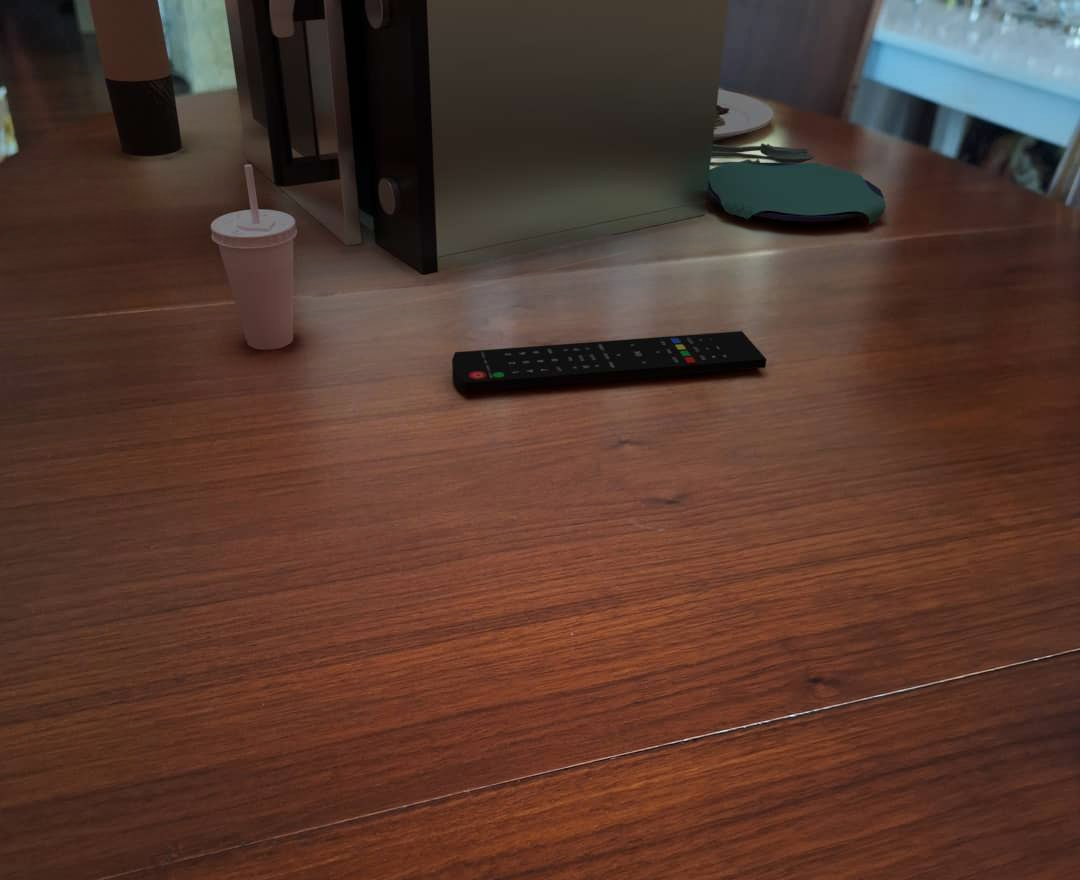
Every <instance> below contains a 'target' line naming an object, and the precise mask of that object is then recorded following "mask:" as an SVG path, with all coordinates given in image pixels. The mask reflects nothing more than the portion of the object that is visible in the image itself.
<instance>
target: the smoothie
mask: <svg viewBox="0 0 1080 880" xmlns="http://www.w3.org/2000/svg"><path fill="white" fill-rule="evenodd" d="M243 167H244V174H245V180H246V187H247V193H248V194H247V195H248V201H249V209H244V210H238V211H233V212H228V213H226V214H223V215H221V216H219V217H216V218H215V219H214V220H213V221H211V223H210V230H211V240H212V241H213V242H214V243H215V244H217V245H218V249H219V253H220V257H221V260H222V264H223V266H224V270H225V273H226V277H227V280H228V283H229V287H230V291H231V294H232V296H233V300H234V303H235V307H236V310H237V314H238V317H239V321H240V324H241V327H242V330H243V333H244V334H243V335H244V338H245V341H246V344H247V346H249V347H250V348H253V349H255V350H260V351H261V350H263V351H269V350H271V351H272V350H278V349H281V348H285V347H287V346H288V345H290V344H291V343H292V342H293V341H294V256H295V255H294V253H295V252H294V239H295V238H296V236H297V235H298V230H297V225H296V218H295V217H293V215H291V214H289V213H286V212H283V211H280V210H276V209H275V210H274V209H259V204H258V198H257V190H256V183H255V177H254V169H253V164H251V163H249V164H244V166H243Z"/></svg>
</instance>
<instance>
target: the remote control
mask: <svg viewBox="0 0 1080 880" xmlns="http://www.w3.org/2000/svg"><path fill="white" fill-rule="evenodd" d="M451 365H452V366H451V367H452V368H451V370H452V385H453V386H454V388H455V390H456V391H457V392H463V393H464V392H477V391H478V392H479V391H489V390H501V389H502V390H503V389H516V388H524V387H525V388H527V387H539V386H540V387H541V386H552V385H564V384H576V383H589V382H602V381H612V380H614V381H616V380H628V379H639V378H640V379H641V378H652V377H653V378H654V377H664V376H676V375H677V376H678V375H687V374H688V375H689V374H702V373H714V372H725V371H726V372H727V371H739V370H741V371H742V370H751V369H753V370H754V369H763V368H764V369H765V368H766V365H767V358H766V356H765V355H763V352H761V351H760V349H758V347H757V346H756V345H755V344H754V343H753V342H752V341H751V340H750V338H749V337H748V336H747V335H746V333H744V332H743V331H742V330H739V331H738V330H735V331H726V332H724V331H723V332H710V333H709V332H708V333H698V334H697V333H696V334H683V335H670V336H669V335H668V336H657V337H656V336H655V337H643V338H629V339H628V338H627V339H618V340H617V339H614V340H602V341H589V342H587V341H585V342H575V343H574V342H572V343H564V344H563V343H562V344H559V343H558V344H546V345H534V346H522V347H521V346H520V347H507V348H506V347H505V348H491V349H479V350H465V351H455V352H454V354H453V357H452V359H451Z"/></svg>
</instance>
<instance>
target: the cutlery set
mask: <svg viewBox="0 0 1080 880" xmlns="http://www.w3.org/2000/svg"><path fill="white" fill-rule="evenodd" d="M758 151H759V152H760V153H761V154H762V155H759V154H752V153H748V152H758ZM711 158H746V159H745V160H740V161H722V162H720V161H717V162H716V161H711V163H710V166H715V167H712V168H710V172H709V181H708V190H707V198H709V199H710V200H711V201H714V202H715V203H717V204H720V205H721V206H722V208H723V209H724V210H725V212H726V213H728V214H730V215H731V216H732V215H733V216H734V215H736V216H738V217H739V218H740V217H741V218H744V219H746V220H748V219H750V218H751V217H752V216H755V217H759V218H760V217H761V218H765V219H766V218H767V219H772V220H778V221H787V222H788V221H789V222H805V223H820V222H836V221H837V222H838V221H842V220H846V219H853V218H858V217H862V216H864V215H866V216H867V218H869V223H868V224H867V226H870V225H871V224H873V223H875V222H876V221H877V220H879V219H880V218H881V217H882V216H883V214H884V213H885V210H886V205H887V204H886V200H885V197H884V195H883V192H882V190H881V189H880V188H879V187H877V186H876V185H875V184H873V183H872V182H870V180H866V179H865V178H863V176H862V175H861V174H859V173H855V172H854V171H848V170H846V169H840V168H838V167H832V166H829V165H828V166H827V165H824V164H820V162H807V161H810V160H813V159H814V158H816V156H815V155H814V154H811V153H809V150H808V149H807V148H792V147H791V148H790V147H784V146H773V145H771V144H769V143H767V144H765V143H762V142H761V144H760V145H749V146H747V145H746V146H731V145H720V144H715V143H713V145H712V154H711ZM751 159H756V160H751ZM760 160H772V161H774V162H768V161H767V162H761V161H760Z"/></svg>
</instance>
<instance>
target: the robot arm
mask: <svg viewBox="0 0 1080 880" xmlns="http://www.w3.org/2000/svg"><path fill="white" fill-rule="evenodd" d="M294 2H295V0H269V10H270V13H267V17H268V23H269V31H270V33H272V34H273V35H275V36H277V37H279V38H281V37H291V36H292V35H293V34H294V25H293V15H292V14H293V9H294Z"/></svg>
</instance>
